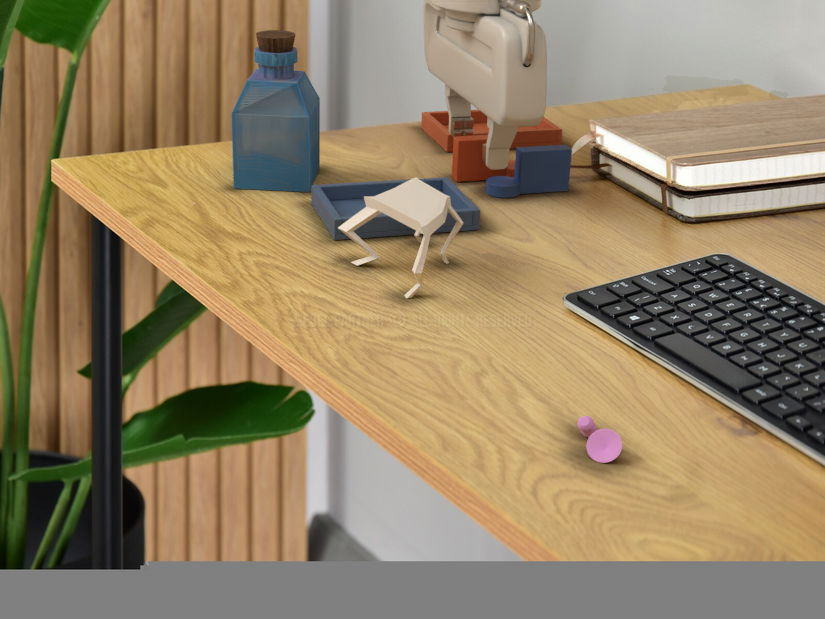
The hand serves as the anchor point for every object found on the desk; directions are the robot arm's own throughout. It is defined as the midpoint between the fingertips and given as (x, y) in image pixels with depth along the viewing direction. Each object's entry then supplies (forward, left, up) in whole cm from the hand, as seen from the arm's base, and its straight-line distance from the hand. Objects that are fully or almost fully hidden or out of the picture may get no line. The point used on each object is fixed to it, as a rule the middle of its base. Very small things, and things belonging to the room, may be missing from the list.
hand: (476, 151), depth 101 cm
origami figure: (+11, +19, -3) cm, 22 cm away
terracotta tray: (-6, -12, -2) cm, 13 cm away
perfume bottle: (+16, -3, -3) cm, 17 cm away
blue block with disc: (-3, +4, -2) cm, 6 cm away
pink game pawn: (+8, +44, -3) cm, 45 cm away
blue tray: (+9, +8, -2) cm, 13 cm away
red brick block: (-2, 0, -2) cm, 3 cm away
